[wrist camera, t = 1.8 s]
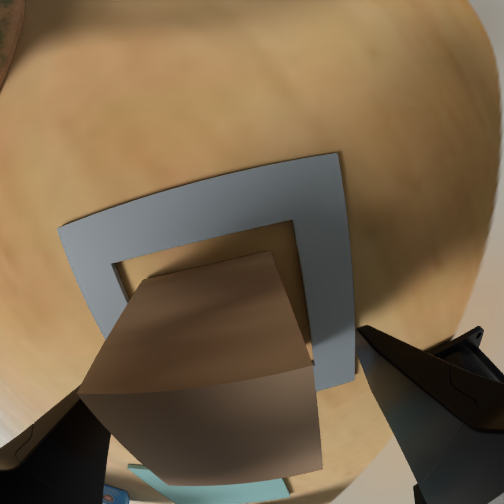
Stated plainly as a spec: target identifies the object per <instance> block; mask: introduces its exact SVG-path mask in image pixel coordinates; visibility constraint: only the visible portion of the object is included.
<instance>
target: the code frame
mask: <svg viewBox="0 0 504 504" xmlns="http://www.w3.org/2000/svg"><path fill="white" fill-rule="evenodd" d="M288 220H292V223H293V228H294V234H295V239H296V245H297V251H298V256H299V262H300V268H301V275H302V281H303V287H304V294H305V300H306V307H307V314H308V321H309V328H310V336H311V343H312V351H313V359H314V361H313V362H312V365H313V372H314V380H315V389H316V392H317V391H320V390H324V389H327V388H331V387H334V386H337V385H341V384H344V383H347V382H350V381H353V380H354V379H355V311H354V288H353V272H352V259H351V248H350V238H349V228H348V220H347V211H346V204H345V197H344V190H343V183H342V177H341V171H340V165H339V159H338V153H331V154H325V155H319V156H313V157H307V158H301V159H296V160H290V161H285V162H280V163H275V164H270V165H265V166H260V167H256V168H251V169H247V170H242V171H238V172H234V173H229V174H225V175H221V176H217V177H213V178H209V179H205V180H201V181H198V182H194V183H190V184H187V185H183V186H179V187H176V188H172V189H169V190H166V191H162V192H159V193H155V194H152V195H149V196H146V197H143V198H139V199H136V200H133V201H130V202H127V203H124V204H121V205H118V206H115V207H112V208H109V209H106V210H104V211H101V212H98V213H95V214H93V215H90V216H87V217H84V218H82V219H79V220H77V221H74V222H71V223H69V224H66V225H64V226H61V227H59V228H57V231H58V234H59V237H60V240H61V242H62V245H63V248H64V251H65V253H66V256H67V259H68V261H69V264H70V266H71V269H72V271H73V274H74V276H75V278H76V281H77V283H78V285H79V288H80V290H81V292H82V294H83V296H84V299H85V301H86V303H87V305H88V307H89V309H90V311H91V313H92V315H93V317H94V319H95V321H96V323H97V325H98V327H99V329H100V331H101V333H102V334H103V336H104V338H105V340H106V339H107V337H108V335H109V334H110V332H111V330H112V329H113V327H114V325H115V324H116V322H117V320H118V319H119V317H120V315H121V314H122V312H123V310H124V309H125V307H126V305H127V304H128V302H129V301H130V300H129V298H128V295H127V293H126V291H125V288H124V286H123V283H122V281H121V279H120V276H119V274H118V271H117V268H116V266H115V263H116V262H119V261H123V260H127V259H131V258H135V257H139V256H142V255H146V254H150V253H154V252H158V251H162V250H166V249H170V248H174V247H178V246H182V245H186V244H190V243H194V242H198V241H202V240H206V239H211V238H215V237H219V236H223V235H227V234H231V233H236V232H240V231H244V230H249V229H253V228H257V227H262V226H266V225H270V224H275V223H279V222H284V221H288Z"/></svg>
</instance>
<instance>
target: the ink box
mask: <svg viewBox="0 0 504 504" xmlns="http://www.w3.org/2000/svg"><path fill="white" fill-rule="evenodd" d="M103 504H129V497H128V494H127V492H126V491H123V490H120V489H117V488H114V487H111V486H108V485H105V484H104V492H103Z"/></svg>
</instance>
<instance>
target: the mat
mask: <svg viewBox="0 0 504 504" xmlns="http://www.w3.org/2000/svg"><path fill="white" fill-rule="evenodd" d="M127 468H128V469H129V470H130V471H132V472H133V473H134V474H135V475H137V476H138V477H139V478H140V479H142V480H143V481H144V482H146V483H147V484H148V485H150V486H151V487H152V488H154V489H155V490H157V491H158V492H159V493H161V494H162V495H164V496H165V497H167V498H168V499H170V500H171V501H173V502H174V503H176V504H240V503H251V502H260V501H268V500H275V499H281V498H287V497H290V493H289V491H288V489H287V486H286V484H285V482H284V480H283V478H280V479H274V480H267V481H260V482H253V483H244V484H233V485H217V486H168V485H167V484H166V483H165V482H163V481H162V480H161V479H160V478H158V477H157V476H156V475H155V474H153V473H152V472H151V471H150V470H149V469H148V468H146V467H145V466H143V465H131V464H128V467H127Z"/></svg>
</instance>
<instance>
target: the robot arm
mask: <svg viewBox="0 0 504 504" xmlns="http://www.w3.org/2000/svg"><path fill="white" fill-rule="evenodd" d="M483 332H484V330H483V329H482V328H481V327H480V326H477V327H475V328H474V329H472V330H470V331H468V332H467V333H465V334H463V335H461V336H460V337H458V338H456V339H454V340H452V341H450V342H448V343H446V344H444V345H442V346H440V347H438V348H436V349H434V350H432V351H430V352H428V353H426V352H424V351H422V350H420V349H418V348H416V347H414V346H411V345H409V344H407V343H405V342H403V341H401V340H399V339H396V338H394V337H392V336H390V335H388V334H386V333H384V332H382V331H380V330H377V329H375V328H373V327H371V326H369V325H365V326H362V327H359V328H357V329H356V352H357V355H358V358H359V360H360V363H361V365H362V368H363V370H364V373H365V376H366V378H367V381H368V384H369V386H370V389H371V391H372V393H373V395H374V397H375V399H376V401H377V402H378V404H379V406H380V408H381V410H382V412H383V414H384V416H385V418H386V420H387V422H388V424H389V426H390V428H391V430H392V432H393V433H394V435H395V437H396V439H397V441H398V443H399V445H400V447H401V449H402V452H403V454H404V456H405V458H406V460H407V462H408V464H409V466H410V468H411V470H412V472H413V474H414V476H415V478H416V481H417V484H416V485H414V487H413V490H414V498H415V504H504V374H503V373H502V372H501V371H500V370H499V369H498V368H497V367H496V366H495V365H494V364H493V363H492V362H491V361H490V359H489V358H488V357H487V356H486V355H485V354H484V353H483V352H482V351H481V350H480V349H479V345H480V342H481V339H482V336H483ZM80 386H81V385H80ZM80 386H78V387H77V388H76V389H75V390H74V391H72V392H71V393H70V394H69V395H67V396H66V397H65V398H64V399H63V400H61V401H60V402H59V403H58V404H56V405H55V406H54V407H53V408H52V409H50V410H49V411H48V412H47V413H45V414H44V415H43V416H42V417H41V418H39V419H38V420H37V421H36V422H35V423H34V424H32V425H31V426H30V427H28V428H27V429H26V430H25V431H23V432H22V433H21V434H20V435H18V436H17V437H16V438H14V439H13V440H11V441H10V442H8V443H7V444H6V445H4V446H3V447H1V448H0V504H103V492H104V482H105V473H106V464H107V457H108V450H109V443H110V437H111V433H110V432H109V431H108V430H107V429H106V428H105V427H104V425H103V424H102V423H101V422H100V421H99V420H98V419H97V418H96V416H95V415H94V414H93V413H92V412H91V411H90V409H89V408H88V407H87V406H86V405H85V403H84V402H83V401H82V400H81V398H80V397H79V396H78V394H77V392H78V390H79V388H80Z"/></svg>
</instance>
